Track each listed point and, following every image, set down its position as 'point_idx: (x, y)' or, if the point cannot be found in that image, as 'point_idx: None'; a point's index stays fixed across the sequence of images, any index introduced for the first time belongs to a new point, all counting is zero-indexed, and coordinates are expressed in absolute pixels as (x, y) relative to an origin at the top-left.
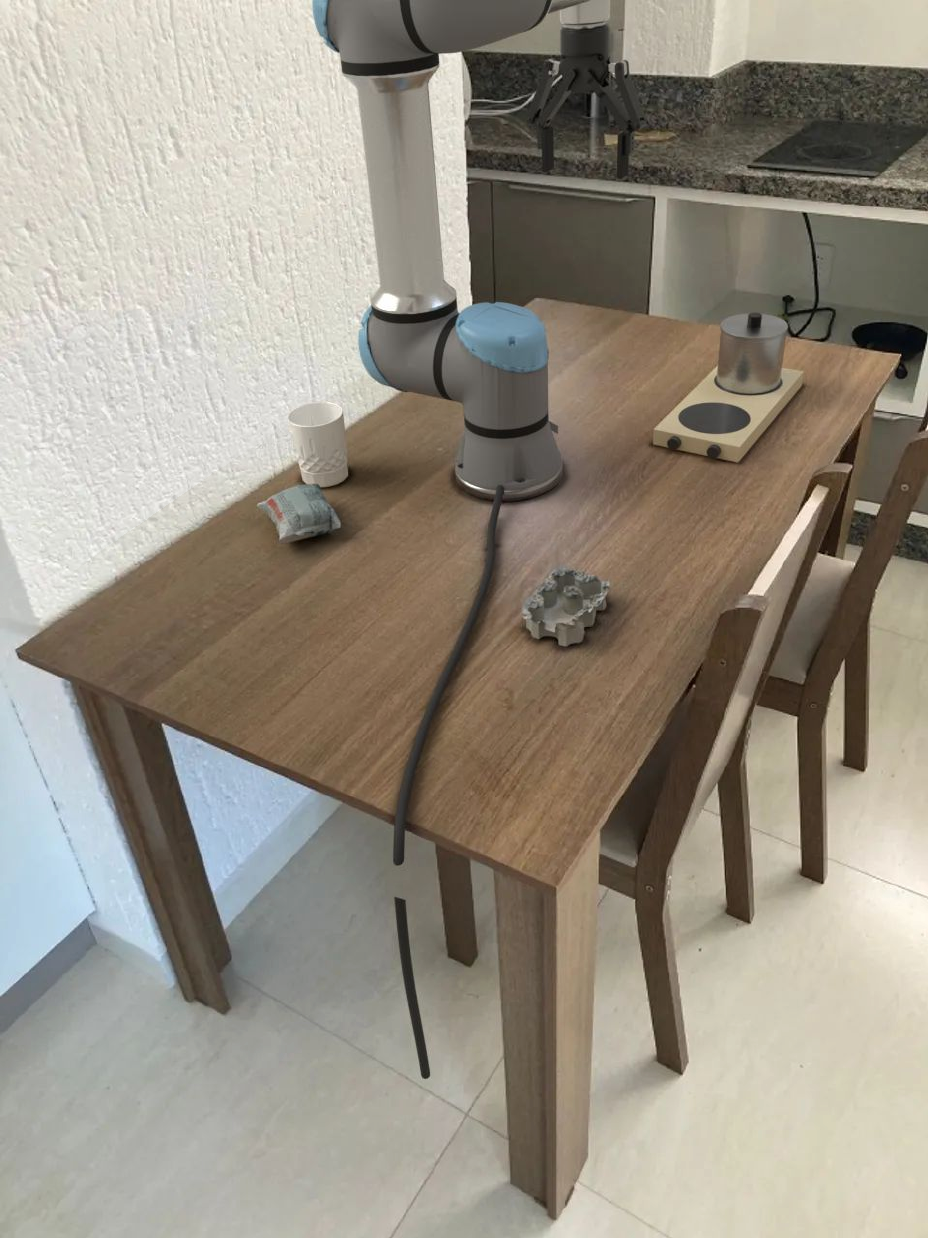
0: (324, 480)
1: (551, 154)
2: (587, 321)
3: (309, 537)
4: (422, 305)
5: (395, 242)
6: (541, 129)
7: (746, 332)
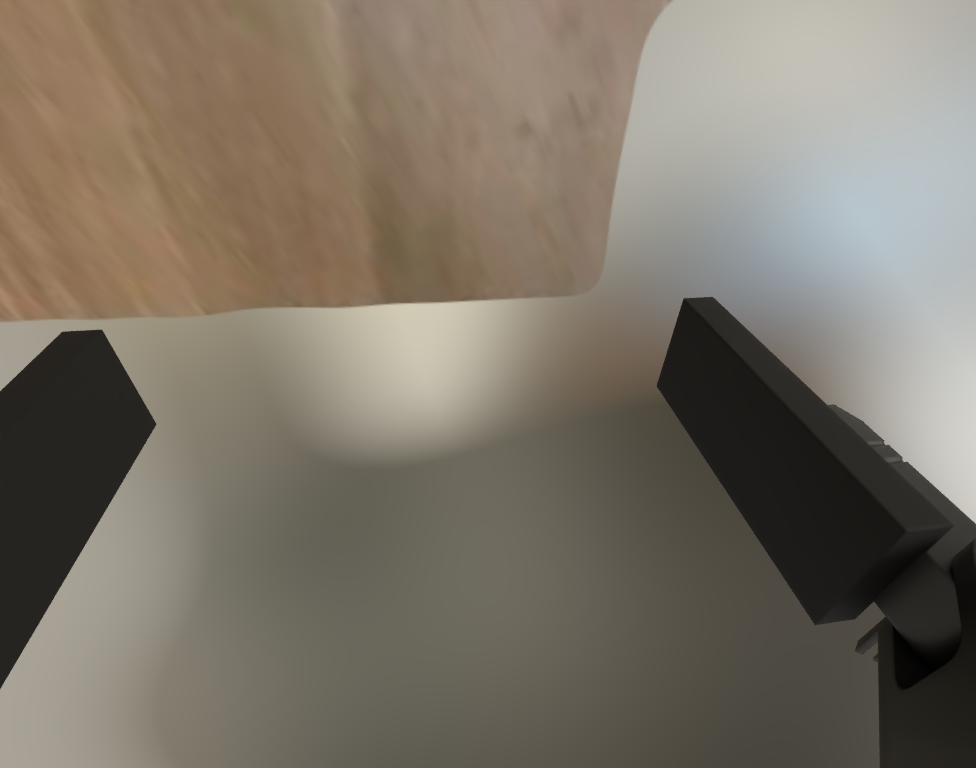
0: None
1: (707, 422)
2: (456, 231)
3: None
4: None
5: None
6: (938, 538)
7: None
